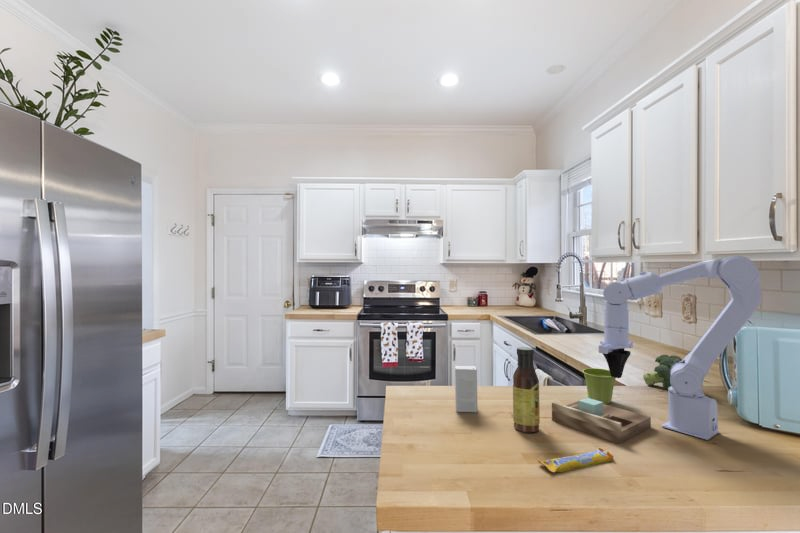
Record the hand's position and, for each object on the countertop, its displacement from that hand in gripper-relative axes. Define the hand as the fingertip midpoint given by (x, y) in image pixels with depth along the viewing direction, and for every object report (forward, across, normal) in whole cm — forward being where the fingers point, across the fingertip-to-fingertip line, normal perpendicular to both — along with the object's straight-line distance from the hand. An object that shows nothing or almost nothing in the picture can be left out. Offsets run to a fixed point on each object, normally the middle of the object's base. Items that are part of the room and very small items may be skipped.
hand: (616, 377), depth 104 cm
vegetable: (+11, -37, -2) cm, 39 cm away
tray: (+10, +9, 0) cm, 14 cm away
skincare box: (+11, +30, -27) cm, 42 cm away
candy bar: (+11, +33, +8) cm, 35 cm away
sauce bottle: (+11, +27, -9) cm, 30 cm away
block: (+8, +13, 0) cm, 15 cm away
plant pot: (+11, -8, -9) cm, 16 cm away
